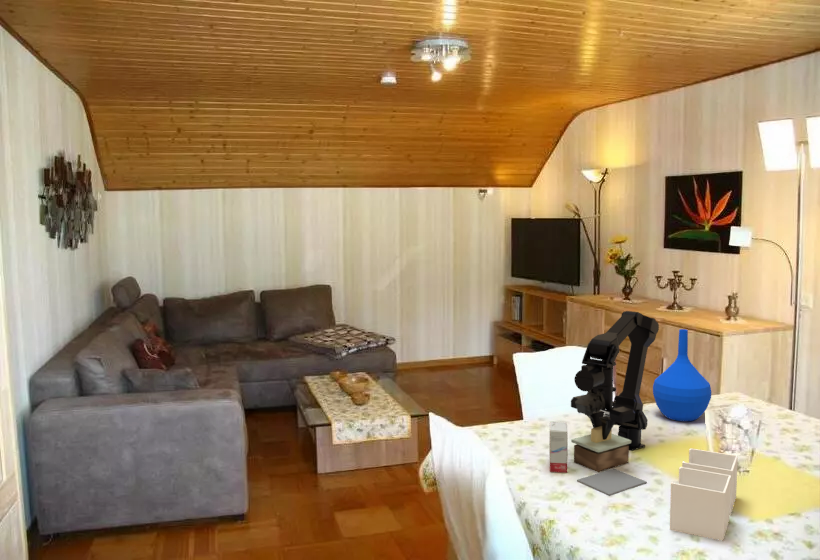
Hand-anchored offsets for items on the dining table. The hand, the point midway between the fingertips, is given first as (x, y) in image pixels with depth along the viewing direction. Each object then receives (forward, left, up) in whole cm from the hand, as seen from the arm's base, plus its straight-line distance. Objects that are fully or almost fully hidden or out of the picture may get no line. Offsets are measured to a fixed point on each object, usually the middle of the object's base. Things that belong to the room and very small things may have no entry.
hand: (601, 438), depth 195 cm
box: (0, 0, -7) cm, 7 cm away
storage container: (+4, +36, -8) cm, 37 cm away
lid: (0, 0, -1) cm, 1 cm away
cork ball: (-3, -1, -5) cm, 6 cm away
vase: (-53, -13, -7) cm, 55 cm away
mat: (+8, +11, -7) cm, 15 cm away
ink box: (+12, -4, -7) cm, 15 cm away
